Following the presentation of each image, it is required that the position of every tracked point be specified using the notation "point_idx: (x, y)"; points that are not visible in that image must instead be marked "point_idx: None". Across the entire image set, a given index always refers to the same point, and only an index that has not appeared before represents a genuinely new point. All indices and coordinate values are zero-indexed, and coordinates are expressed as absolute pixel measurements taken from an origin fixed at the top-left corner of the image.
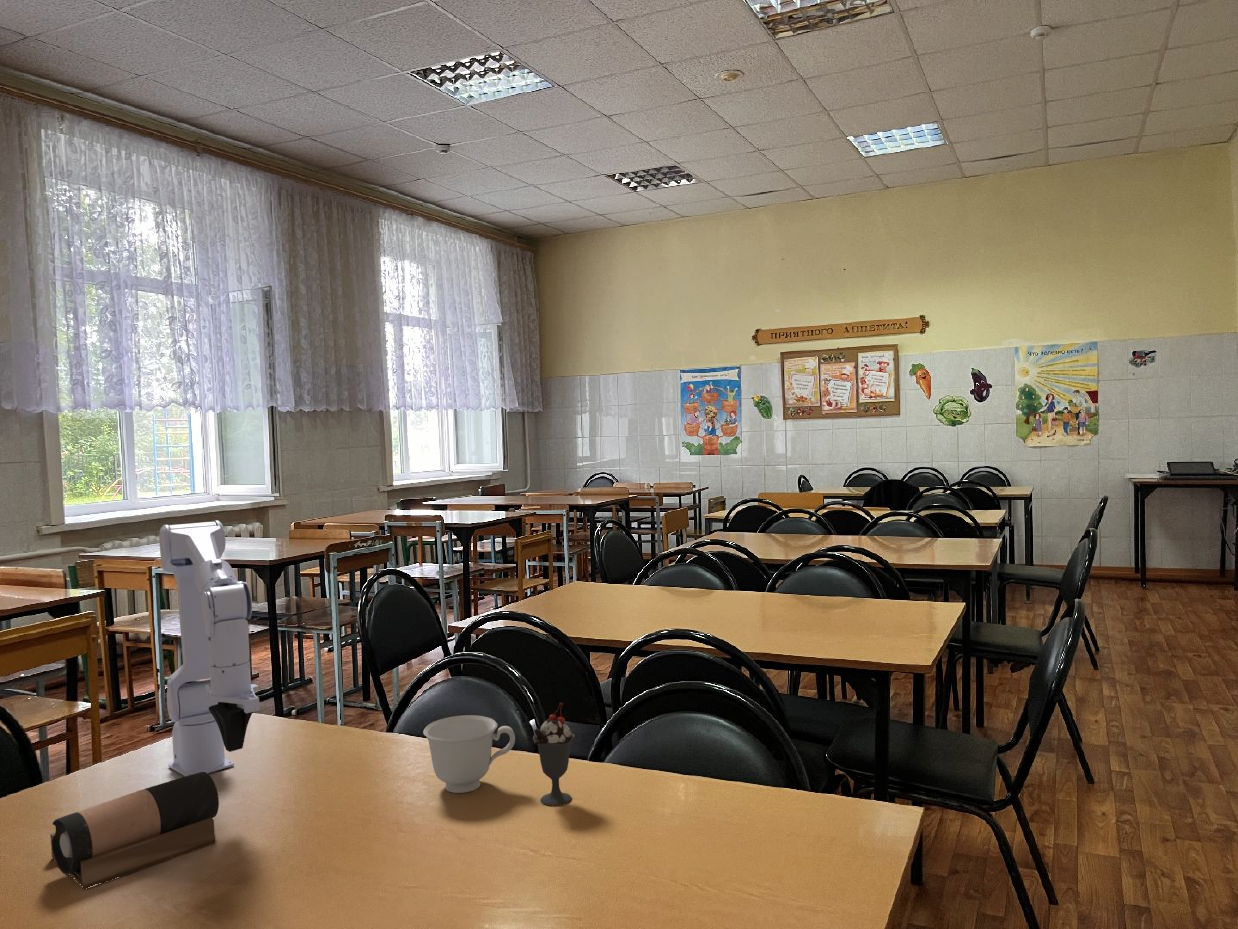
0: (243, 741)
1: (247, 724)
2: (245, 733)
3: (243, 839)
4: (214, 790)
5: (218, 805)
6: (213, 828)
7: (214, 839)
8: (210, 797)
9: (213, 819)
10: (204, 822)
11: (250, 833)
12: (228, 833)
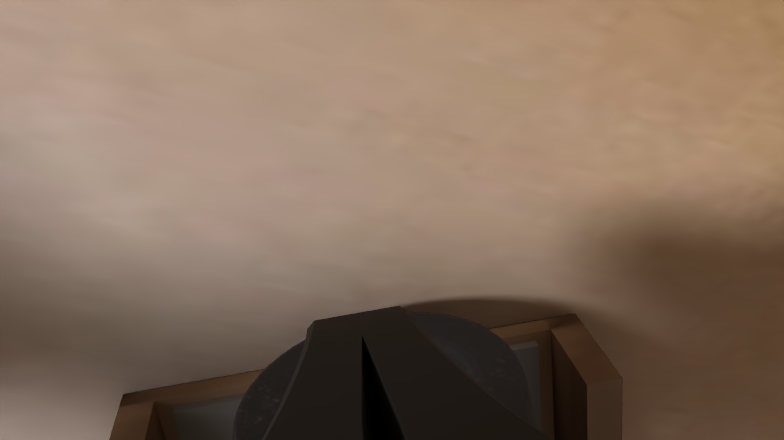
0: (427, 336)
1: (547, 436)
2: (456, 367)
3: (635, 206)
4: (526, 416)
5: (506, 344)
6: (604, 356)
7: (583, 325)
8: (534, 421)
9: (619, 379)
10: (617, 417)
11: (598, 163)
12: (513, 243)
